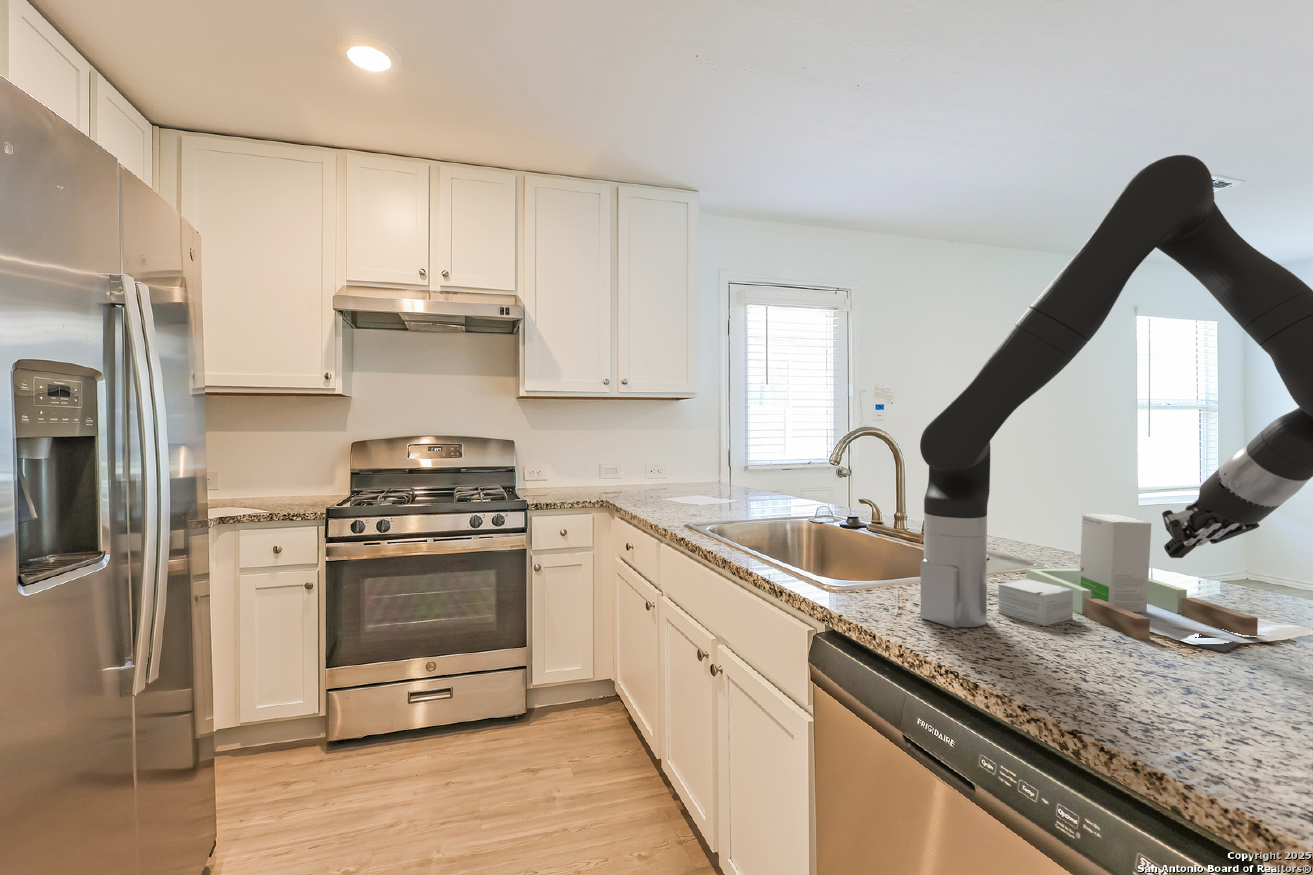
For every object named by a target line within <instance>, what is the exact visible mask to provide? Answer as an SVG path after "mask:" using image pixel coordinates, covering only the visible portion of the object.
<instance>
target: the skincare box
mask: <svg viewBox="0 0 1313 875" xmlns="http://www.w3.org/2000/svg"><path fill="white" fill-rule="evenodd" d="M1081 516H1082V518H1081V537H1080V538H1081V539H1080V540H1081V541H1080V542H1081V543H1080V559H1079V560H1080V561H1079V569H1080V578H1079V586H1080V587H1083V588H1086V589H1088V590H1091V598H1098V599H1100V600H1103V601H1106V602H1108V603H1111V604H1113V605H1116V606H1118V607H1121V608H1124V609H1126V610H1129V611H1131V612H1146V613H1148V612H1147V611H1148V603H1147V595H1148V578H1149V576H1150V574H1149V572H1150V555H1151V554H1150V553H1151V538H1152V522H1149V521H1144V520H1140V519H1138V518H1134V517H1128V516H1126V515H1125V516H1124V515H1122V514H1121V515H1120V514H1116V513H1083V514H1081Z"/></svg>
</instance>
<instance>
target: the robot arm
mask: <svg viewBox="0 0 1313 875" xmlns="http://www.w3.org/2000/svg"><path fill="white" fill-rule="evenodd" d="M1156 248H1157V249H1158V250H1159V251H1160V252H1162V253H1164V254H1165V255H1167V256H1168V257H1169V258H1171V259H1172V260H1174V261H1175V262H1176V263H1177V264H1178V265H1180V266H1181V267H1182V268H1184V269H1185V270H1186V271H1187V272H1188V273H1189V274H1191V275H1192V276H1193V277H1195V279H1196V280H1197V281H1199V283H1200V284H1202V286H1203V287H1205V289H1206V290H1207V291H1208V292H1209V293H1210V294H1211V295H1212V296H1213V297H1214V299H1215V300H1216V301H1218V303H1219V304H1220V305H1221V306H1222V307H1223V308H1224V309H1225V311H1226V312H1227V313H1228V314H1229V315H1230V316H1231V317H1232V318H1233V320H1234V321H1236V323H1238V325H1239V326H1240V327H1241V328H1242V330H1244V331H1245V332H1246V334H1248V336H1250V337H1251V339H1253V340H1254V342H1255V343H1256V344H1257V345H1258V346H1259V347H1261V349H1262V350H1263V351H1264V352H1266V353H1267V354H1268V355H1269V357H1270V358H1271V360H1272V362H1273V365H1274V367H1275V369H1276V372H1277V373H1278V374H1279V377H1280V378H1281V380H1282V383H1283V384H1284V386H1285V388H1286V390H1287V391H1288V393H1289V395H1290V396H1291V398H1292V399H1293V401H1294V402H1295V403H1296V405H1297V406H1298V407H1297V408H1296V409H1293V410H1292V411H1290V412H1288V413H1285V414H1283V415H1281V416H1280V417H1277V418H1276V419H1275V420H1273V421H1272V422H1271V423H1269V424H1268V425H1267V426H1265V428H1264V429H1263V430H1261V431H1260V432H1259V433H1258V434H1257V435H1256V436H1255V437H1254V438H1253V439H1252V440H1251V441H1250V442H1249V443H1248V444H1246V445H1245V446H1244V447H1242V448H1241V449H1239V450H1238V451H1236V452H1235V453H1234V454H1232V455H1231V456H1230V457H1229V458H1228V459H1227V460H1226V461H1225V462H1224V463H1223V464H1222V465H1221V466H1220V467H1218V469H1216V470H1215V471H1214V472H1213V473H1212V474H1211V475H1210V476H1209V477H1208V478H1207V479H1206V480H1205V481H1204V482H1202V484H1201V485H1200V487H1199V491H1198V492H1199V495H1198V498H1197V499H1196V500H1195V501H1193V502H1192V503H1189V504H1188V505H1187V506H1186V507H1185V510H1182V511H1180V512H1177V513H1176V512H1173V511H1172V510H1170V509H1168V510H1165V511H1163V512H1162V513H1161V515H1162V518H1163V522H1164V527H1165V530H1166V532H1168V533H1169V535H1170V537H1171V539H1170V540H1169V541H1167V543H1165V544H1164V546H1163V548H1164V551H1165V552H1166V553H1167V555H1168V557H1170V558H1171V559H1182V558H1183V559H1184V557H1186V556H1187V555H1188V554H1189V553H1190V552H1191V551H1193V550H1194V549H1195V548H1197V547H1201V546H1204V545H1205V544H1207V543H1208V542H1209V543H1210V544H1212V545H1213V544H1215V545H1216V544H1218V543H1221V542H1223V541H1226V540H1228V539H1232V538H1233V537H1238V536H1239V535H1243V534H1246V533H1248V532H1250V531H1253V530H1257V529H1258V528H1260V524H1259V523H1260V522H1261V521H1263V520H1264V519H1265V518H1267V517H1268V516H1269V515H1270V514H1272V513H1273V512H1274V511H1275V510H1277V509H1278V508H1279V507H1280V506H1282V505H1283V504H1285V502H1287V501H1288V500H1289V499H1291V497H1293V496H1294V495H1295V494H1297V493H1298V492H1299V491H1300V490H1302V488H1303V487H1304V486H1305V485H1306V483H1308V481H1310V480H1311V478H1313V289H1312V288H1311V287H1310V286H1309V285H1307V284H1306V283H1305V282H1304V281H1303V280H1302V279H1300V278H1299V277H1298V276H1296V274H1294V273H1292V272H1291V271H1290V270H1288V269H1287V268H1285V267H1284V266H1282V265H1281V264H1279V263H1278V262H1276V261H1275V260H1272V259H1271V258H1269V256H1266V255H1265V254H1263V253H1262V252H1260V251H1259V250H1257V249H1256V248H1254V247H1253V246H1252V245H1251V244H1250V243H1248V242H1247V241H1246V240H1245V239H1244V238H1243V237H1242V236H1240V235H1239V233H1238V232H1237V231H1235V229H1234V228H1233V227H1232V225H1231V224H1230V222H1228V220H1227V219H1226V218H1225V216H1224V214H1223V213H1222V212H1221V210H1220V208H1219V207H1218V206H1217V204H1216V202H1215V192H1214V180H1213V177H1212V174H1211V172H1210V170H1209V168H1208V167H1207V165H1206V164H1205V163H1204V161H1202V160H1201V159H1199V158H1198V157H1195V156H1193V155H1188V154H1176V155H1170V156H1166V157H1163V158H1161V159H1158V160H1156V161H1154V162H1152V163H1149V165H1147V166H1145V167H1143V168H1142V169H1141V170H1140V171H1139V172H1138V173H1136V174H1135V175H1134V176H1133V177H1132V178H1131V179H1130V180H1129V182H1128V183H1127V184H1126V186H1125V187H1124V188H1123V190H1122V191H1121V192H1120V193H1119V195H1118V196H1117V198H1116V200H1114V203H1113V204H1112V206H1111V207H1110V208H1109V209H1108V211H1107V212H1106V214H1105V215H1104V216H1103V218H1102V220H1101V222H1100V223H1099V224H1098V226H1097V227H1096V228H1095V230H1094V231H1093V233H1092V234H1091V236H1090V237H1089V238H1088V239H1087V240H1086V242H1085V243H1084V244H1083V246H1082V247H1081V248H1080V249H1079V251H1078V252H1076V254H1075V255H1074V256H1073V257H1072V258H1071V259H1070V260H1069V261H1068V262H1067V264H1066V265H1065V266H1064V267H1063V268H1062V269H1061V271H1059V273H1058V274H1057V275H1056V277H1055V278H1054V279H1052V281H1050V283H1049V285H1047V287H1046V288H1045V289H1044V290H1043V291H1042V292H1041V294H1040V295H1039V296H1038V297H1037V298H1036V299H1035V300H1034V301H1033V302H1032V303H1031V305H1030V306H1029V307H1028V308H1027V309H1026V310H1025V312H1024V313H1023V314H1022V315H1021V317H1020V318H1019V319H1018V320H1017V321H1016V323H1015V324H1014V325H1013V326H1012V327H1011V329H1010V330H1009V331H1008V332H1007V334H1006V335H1005V337H1004V338H1003V339H1002V340H1001V342H1000V343H999V344H998V346H997V347H996V348H995V349H994V351H993V352H992V353H991V355H990V356H989V358H988V359H987V360H986V362H985V363H984V364H983V365H982V368H980V370H979V371H978V373H977V375H975V377H974V378H973V380H972V381H970V383H969V384H968V385H967V387H965V389H964V390H962V392H961V393H960V394H959V395H957V397H956V398H955V399H953V401H952V402H950V404H949V405H948V406H946V408H945V409H944V410H942V411H941V412H940V413H939V414H938V415H937V416H936V417H935V418H934V419H933V420H931V422H930V423H929V424H927V426H926V427H925V429H924V430H923V432H922V434H921V438H920V443H919V449H920V453H921V457H922V459H923V460H924V462H925V463H926V465H928V483H927V488H926V492H925V494H924V499H923V560H921V561H920V618H921V619H923V620H927V621H931V622H934V623H937V624H940V625H944V626H946V627H950V628H953V629H958V628H978V627H982V626H984V625H986V624H987V620H988V618H987V610H988V609H987V608H988V607H987V606H988V604H987V602H988V598H987V594H988V592H987V591H988V589H987V588H988V586H987V584H988V583H987V582H988V578H987V576H988V575H987V573H988V571H987V570H988V565H987V563H988V562H987V561H988V559H987V557H988V544H987V543H988V503H989V497H990V485H991V484H990V483H991V441H992V439H993V437H994V436H995V435H996V434H997V432H998V431H999V429H1000V428H1001V427H1002V425H1003V424H1005V422H1006V420H1007V419H1008V418H1009V417H1010V416H1011V415H1012V414H1013V412H1015V411H1016V410H1017V409H1018V408H1019V407H1020V406H1021V405H1022V404H1023V403H1024V402H1026V401H1027V400H1028V399H1030V398H1031V397H1032V396H1034V395H1035V394H1036V393H1037V392H1039V391H1040V390H1041V389H1042V388H1043V387H1044V386H1046V385H1047V384H1048V383H1049V382H1050V381H1051V380H1052V379H1054V378H1055V377H1056V376H1057V375H1058V374H1060V372H1061V371H1063V370H1064V368H1066V367H1067V366H1068V365H1069V364H1070V363H1071V361H1073V359H1074V358H1075V357H1076V356H1078V354H1079V353H1080V351H1081V350H1082V349H1084V347H1085V346H1086V345H1087V344H1088V342H1089V341H1091V340H1092V338H1093V337H1094V336H1095V334H1096V333H1098V330H1099V329H1100V328H1101V326H1102V325H1103V323H1104V322H1105V321H1106V319H1107V318H1108V316H1109V314H1110V313H1111V311H1112V308H1114V305H1115V304H1116V302H1117V301H1118V298H1119V297H1120V295H1121V293H1122V291H1123V289H1124V288H1125V286H1126V285H1127V282H1128V281H1129V279H1130V278H1131V276H1132V275H1133V273H1134V272H1135V271H1136V270H1137V269H1138V267H1139V266H1140V265H1141V264H1142V262H1144V261H1145V259H1146V258H1147V257H1148V256H1149V255H1150V254H1151V253H1152V252H1153V251H1154V250H1155V249H1156Z"/></svg>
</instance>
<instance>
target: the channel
mask: <svg viewBox="0 0 1313 875" xmlns="http://www.w3.org/2000/svg"><path fill="white" fill-rule="evenodd" d="M1181 616H1182V617H1184V616H1185V617H1184V618H1187V617H1188V618H1187V619H1189V618H1190V619H1189V620H1192V619H1193V621H1195V622H1198V621H1199V622H1198V623H1200V622H1201V624H1203V625H1207V626H1209V625H1211V626H1210V627H1212V626H1213V627H1212V628H1214V627H1216V628H1215V629H1217V628H1219V629H1218V630H1220V629H1224V630H1227V631H1229V632H1233V633H1238V634H1241V635H1249V636H1257V637H1258V629H1259V628H1258V626H1259V625H1258V622H1259V620H1258V619H1259V617H1256V616H1254V615H1251V614H1247V613H1244V612H1240V611H1238V610H1233V609H1232V608H1228V607H1225V606H1221V605H1219V604H1216V603H1212V602H1209V601H1207V600H1203V599H1199V598H1197V597H1187V598H1182V614H1181ZM1084 617H1085V618H1088V619H1089V620H1093V621H1095V622H1096V623H1099V624H1101V625H1104V626H1106V627H1107V628H1110V629H1113V630H1114V631H1117V632H1118V633H1122V634H1123V635H1126V636H1127V637H1128V636H1129V637H1131V638H1132V639H1135V640H1150V639H1151V635H1150V634H1151V632H1150V631H1151V618H1149V617H1146V616H1144V615H1141V614H1138V613H1134V612H1131V611H1129V610H1126V609H1124V608H1121V607H1118V606H1116V605H1113V604H1111V603H1108V602H1106V601H1103V600H1100V599H1098V598H1085V614H1084Z"/></svg>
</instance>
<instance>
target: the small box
mask: <svg viewBox="0 0 1313 875" xmlns="http://www.w3.org/2000/svg"><path fill="white" fill-rule="evenodd" d="M1073 612H1074V611H1073V590H1071V589H1068V588H1065V587H1061V586H1056V585H1051V584H1046V583H1042V582H1038V581H1033V580H1029V579H1022V580H1017V581H1011V582H1005V583H999V584H998V613H999V614H1003V615H1005V616H1009V617H1012V618H1016V619H1018V620H1022V621H1026V622H1029V623H1032V624H1036V625H1040V626H1043V627H1046V626H1049V625H1053V624H1054V625H1055V624H1057V623H1062V622H1065V621H1071V620H1073V619H1074V618H1073Z"/></svg>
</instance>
